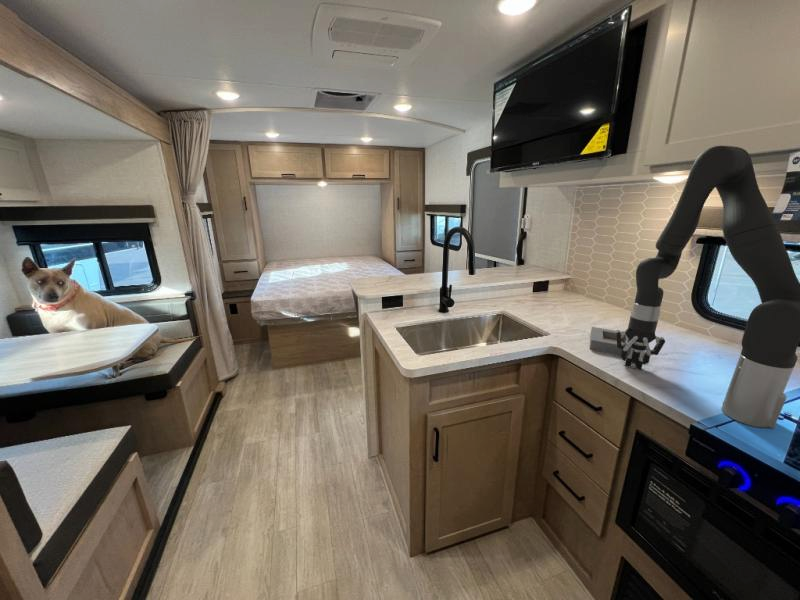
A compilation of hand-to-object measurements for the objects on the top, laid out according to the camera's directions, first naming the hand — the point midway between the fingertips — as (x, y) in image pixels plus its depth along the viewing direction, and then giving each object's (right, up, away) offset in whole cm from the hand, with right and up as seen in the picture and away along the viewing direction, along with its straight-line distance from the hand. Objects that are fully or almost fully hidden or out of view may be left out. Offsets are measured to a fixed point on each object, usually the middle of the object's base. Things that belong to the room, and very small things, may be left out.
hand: (633, 361), depth 112 cm
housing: (+4, +3, +16) cm, 17 cm away
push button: (0, -2, +1) cm, 2 cm away
